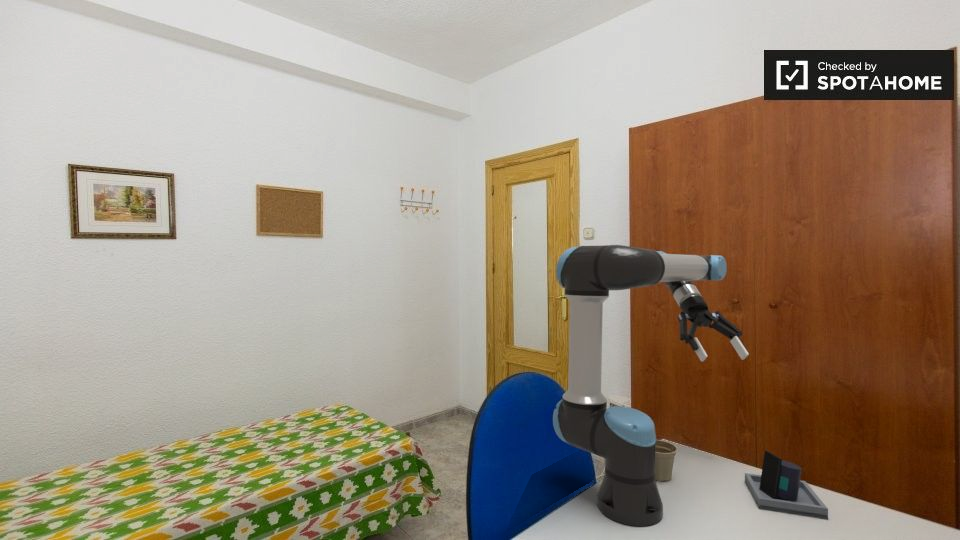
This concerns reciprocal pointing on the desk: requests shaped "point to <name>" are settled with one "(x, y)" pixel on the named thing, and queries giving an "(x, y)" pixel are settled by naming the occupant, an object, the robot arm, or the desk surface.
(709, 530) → the desk surface
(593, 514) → the desk surface
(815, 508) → the tray
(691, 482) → the desk surface
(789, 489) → the dark cylinder with plate
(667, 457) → the flower pot
